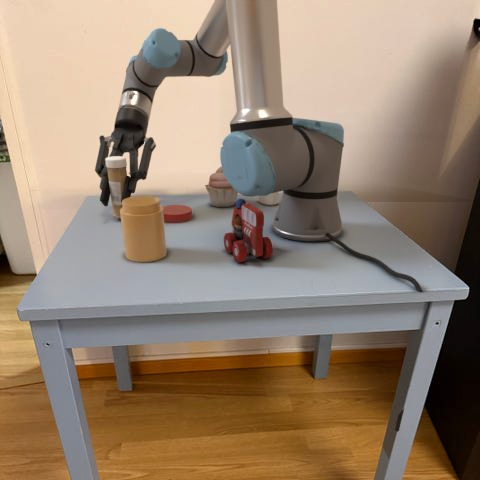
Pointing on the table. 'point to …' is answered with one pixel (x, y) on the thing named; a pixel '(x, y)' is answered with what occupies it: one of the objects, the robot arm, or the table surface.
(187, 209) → the lid
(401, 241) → the table surface
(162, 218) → the jar
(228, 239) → the toy fire truck
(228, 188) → the cupcake
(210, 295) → the table surface
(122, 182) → the sprinkles bottle
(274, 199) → the eye dropper bottle
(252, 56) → the robot arm
